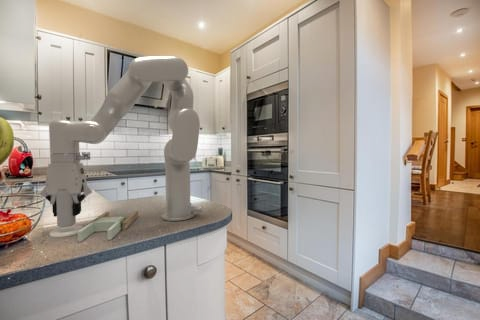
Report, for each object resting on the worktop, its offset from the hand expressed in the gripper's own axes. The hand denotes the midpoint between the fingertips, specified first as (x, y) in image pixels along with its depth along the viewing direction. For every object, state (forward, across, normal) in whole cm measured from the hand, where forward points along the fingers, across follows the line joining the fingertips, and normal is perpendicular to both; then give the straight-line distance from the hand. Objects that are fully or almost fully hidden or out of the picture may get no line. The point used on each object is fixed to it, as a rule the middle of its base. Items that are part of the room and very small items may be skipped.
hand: (67, 214), depth 74 cm
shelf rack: (+6, -12, -7) cm, 15 cm away
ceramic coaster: (+6, 0, 0) cm, 6 cm away
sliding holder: (+6, -12, +2) cm, 13 cm away
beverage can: (+4, 0, 0) cm, 4 cm away
